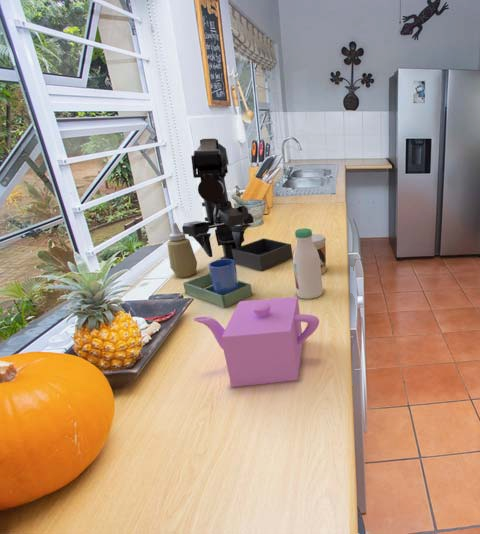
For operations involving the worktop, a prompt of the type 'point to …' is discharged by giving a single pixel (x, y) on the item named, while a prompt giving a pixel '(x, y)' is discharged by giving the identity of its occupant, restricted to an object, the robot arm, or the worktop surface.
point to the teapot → (263, 340)
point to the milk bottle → (307, 266)
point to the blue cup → (223, 276)
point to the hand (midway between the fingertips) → (225, 253)
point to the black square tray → (262, 254)
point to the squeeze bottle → (181, 254)
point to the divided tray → (208, 293)
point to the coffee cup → (320, 249)
